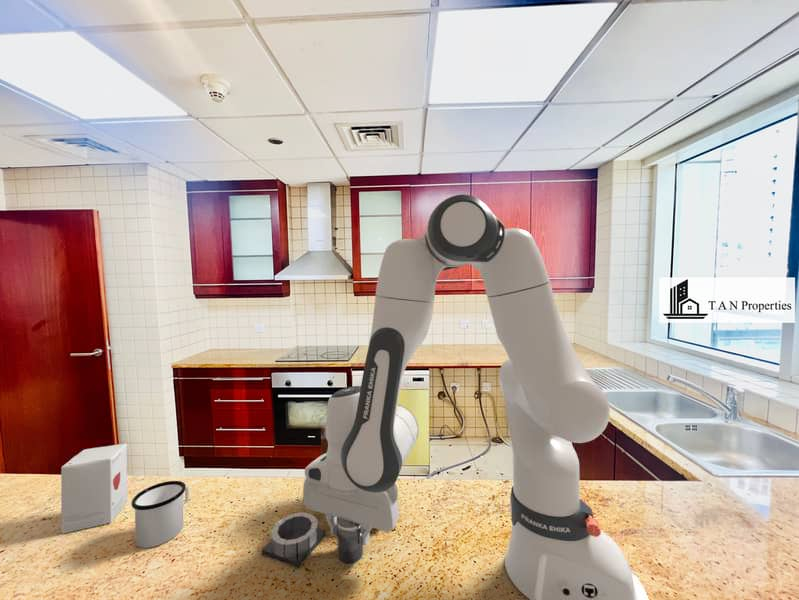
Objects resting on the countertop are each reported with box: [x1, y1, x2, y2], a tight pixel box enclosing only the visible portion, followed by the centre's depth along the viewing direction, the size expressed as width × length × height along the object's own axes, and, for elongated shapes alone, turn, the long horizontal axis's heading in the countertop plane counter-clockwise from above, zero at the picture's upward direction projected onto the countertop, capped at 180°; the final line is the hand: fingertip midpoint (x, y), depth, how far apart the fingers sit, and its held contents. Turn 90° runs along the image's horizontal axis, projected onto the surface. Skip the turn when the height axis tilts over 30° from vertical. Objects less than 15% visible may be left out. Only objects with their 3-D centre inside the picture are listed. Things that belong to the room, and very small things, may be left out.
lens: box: [336, 517, 364, 565], centre depth 63 cm, size 5×5×8 cm
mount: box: [261, 511, 327, 569], centre depth 65 cm, size 9×9×4 cm
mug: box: [130, 480, 190, 549], centre depth 70 cm, size 12×10×9 cm
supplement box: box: [60, 443, 128, 534], centre depth 75 cm, size 9×9×15 cm
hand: (350, 538), depth 63 cm, fingers closed on lens, 5 cm apart
